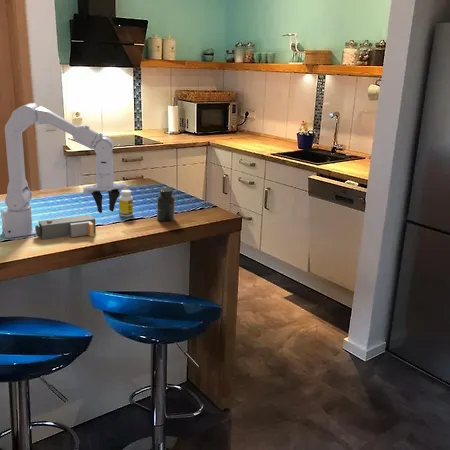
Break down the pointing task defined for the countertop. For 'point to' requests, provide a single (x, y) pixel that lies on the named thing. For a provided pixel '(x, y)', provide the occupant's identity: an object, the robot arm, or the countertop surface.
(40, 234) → the gray sliding door box
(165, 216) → the supplement bottle
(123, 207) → the supplement bottle
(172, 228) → the countertop surface
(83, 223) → the side door
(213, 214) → the countertop surface
